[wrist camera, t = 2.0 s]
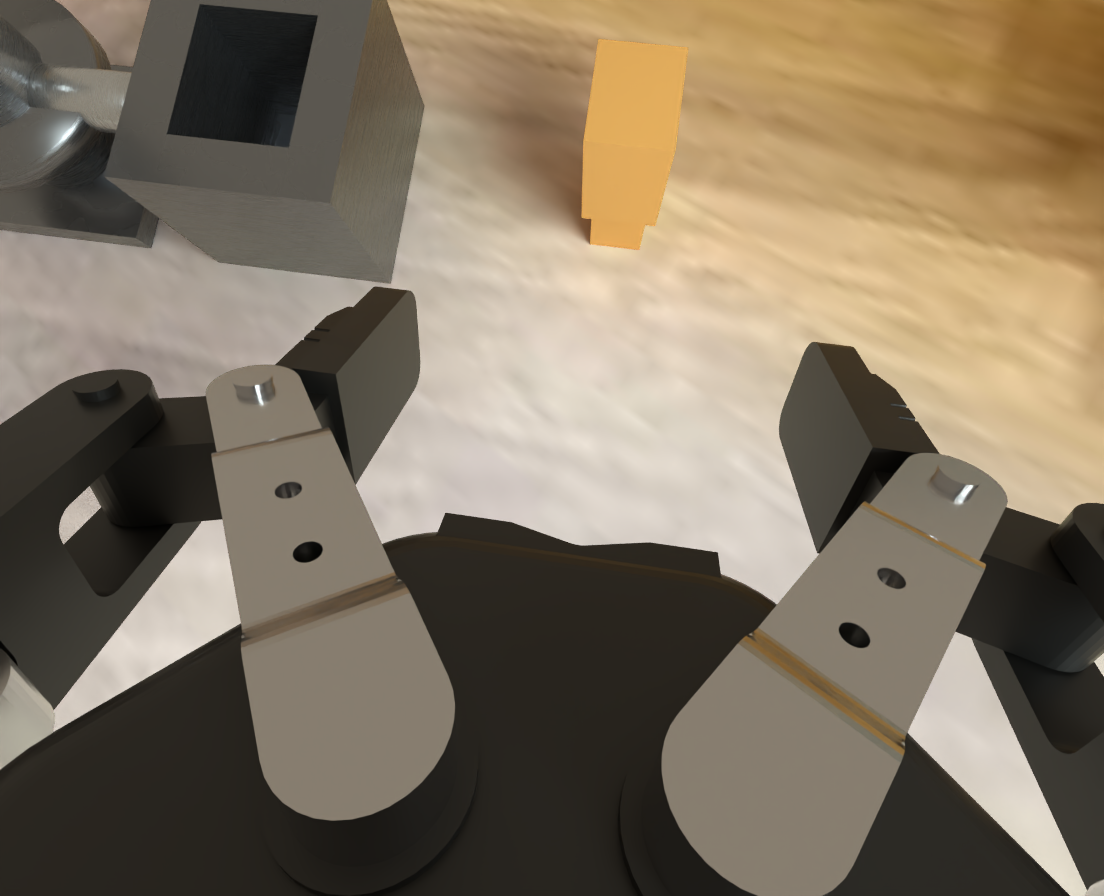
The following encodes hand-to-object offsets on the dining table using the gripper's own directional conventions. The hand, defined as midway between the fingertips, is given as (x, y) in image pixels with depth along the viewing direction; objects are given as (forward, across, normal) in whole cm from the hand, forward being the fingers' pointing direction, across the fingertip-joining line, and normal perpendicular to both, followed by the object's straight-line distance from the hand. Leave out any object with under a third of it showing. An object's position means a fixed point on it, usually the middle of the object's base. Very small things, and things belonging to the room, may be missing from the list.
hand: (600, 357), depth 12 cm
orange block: (+19, 0, +2) cm, 19 cm away
